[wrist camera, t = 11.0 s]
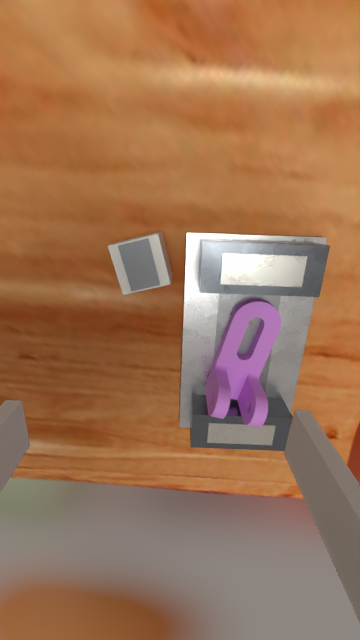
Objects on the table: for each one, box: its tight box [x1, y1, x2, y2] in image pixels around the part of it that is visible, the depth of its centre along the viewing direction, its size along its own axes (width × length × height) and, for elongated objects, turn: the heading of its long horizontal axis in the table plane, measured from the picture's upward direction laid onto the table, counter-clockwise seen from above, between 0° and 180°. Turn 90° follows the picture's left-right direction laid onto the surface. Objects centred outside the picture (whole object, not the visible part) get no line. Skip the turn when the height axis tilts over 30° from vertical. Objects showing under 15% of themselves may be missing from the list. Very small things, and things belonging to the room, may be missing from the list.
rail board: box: [179, 232, 330, 451], centre depth 33 cm, size 15×26×5 cm, turn 178°
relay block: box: [108, 231, 173, 295], centre depth 30 cm, size 5×5×5 cm
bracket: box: [205, 298, 281, 428], centre depth 31 cm, size 13×6×7 cm, turn 164°
